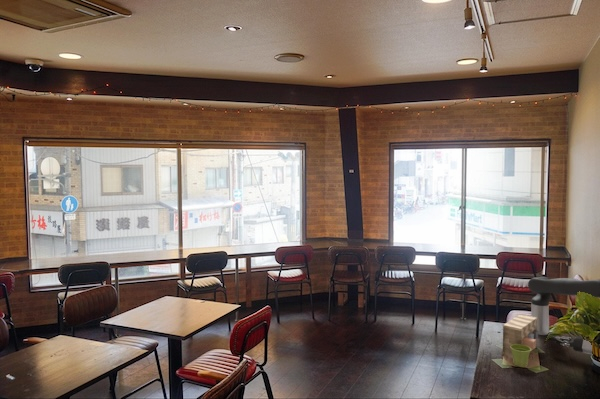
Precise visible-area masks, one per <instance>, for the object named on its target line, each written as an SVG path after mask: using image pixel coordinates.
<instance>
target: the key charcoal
mask: <svg viewBox="0 0 600 399" xmlns="http://www.w3.org/2000/svg"><path fill="white" fill-rule="evenodd" d="M532 334H534V339H537V340H538V339H539V335H538V331H537V330H534V331H532Z"/></svg>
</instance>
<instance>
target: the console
mask: <svg viewBox="0 0 600 399" xmlns="http://www.w3.org/2000/svg"><path fill="white" fill-rule="evenodd" d="M534 330H537V317H532V316H531V315H525V314H522V313H521V314H518V315H516V316H515V317H514V318H512V319H510V320H508V321H506V322H505V323H504V324H503V325H502V356H503V357H506V358H507V357H508V358H512V359H513V354H512V350H511V348H510V346H511V345H514V344H520V345H523V338H524V337H527V338H528V334H532V331H534ZM537 340H538V339H536V348H537V345H538V344H537V342H538V341H537ZM533 350H534V349H531V351H530V353H531V352H532V351H533Z"/></svg>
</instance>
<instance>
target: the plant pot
mask: <svg viewBox="0 0 600 399" xmlns="http://www.w3.org/2000/svg"><path fill="white" fill-rule="evenodd" d="M510 348H511V350H512V354H513V358H512V360H513V361H512V362H513V365H515V366H516V367H517V366H518V367H520V368H525V367H527V366H528V362H529V356H530V353H531V352H532V351H531V348H530V347H528V346H525V345H520V344H514V345H511V346H510ZM530 351H531V352H530Z"/></svg>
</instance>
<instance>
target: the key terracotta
mask: <svg viewBox="0 0 600 399" xmlns="http://www.w3.org/2000/svg"><path fill="white" fill-rule="evenodd" d="M523 345H525V346H528V347H530V348H531V349H533V350H535V349H536V348H537V347H536V339H531V338H527V337H524V338H523Z"/></svg>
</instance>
